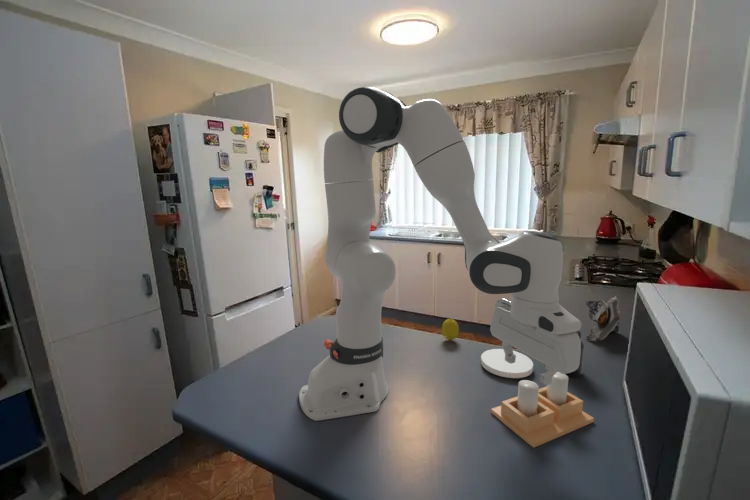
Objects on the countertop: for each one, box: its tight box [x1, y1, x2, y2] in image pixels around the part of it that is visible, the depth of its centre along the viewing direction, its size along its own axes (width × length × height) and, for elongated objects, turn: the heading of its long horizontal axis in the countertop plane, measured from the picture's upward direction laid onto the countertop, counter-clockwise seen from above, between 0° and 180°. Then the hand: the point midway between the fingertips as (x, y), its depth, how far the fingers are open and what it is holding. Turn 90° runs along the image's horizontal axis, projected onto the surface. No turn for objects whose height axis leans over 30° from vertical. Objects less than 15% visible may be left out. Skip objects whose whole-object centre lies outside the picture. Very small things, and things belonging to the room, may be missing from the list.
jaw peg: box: [517, 379, 540, 418], centre depth 76 cm, size 4×4×8 cm
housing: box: [490, 372, 595, 449], centre depth 77 cm, size 18×12×9 cm, turn 114°
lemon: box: [441, 317, 460, 342], centre depth 116 cm, size 6×6×8 cm
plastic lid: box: [480, 348, 534, 379], centre depth 99 cm, size 14×14×2 cm
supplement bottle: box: [565, 330, 585, 378], centre depth 96 cm, size 7×7×12 cm
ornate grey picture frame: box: [585, 295, 621, 341], centre depth 118 cm, size 15×4×13 cm, turn 120°
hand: (526, 372), depth 74 cm, fingers open, 8 cm apart
